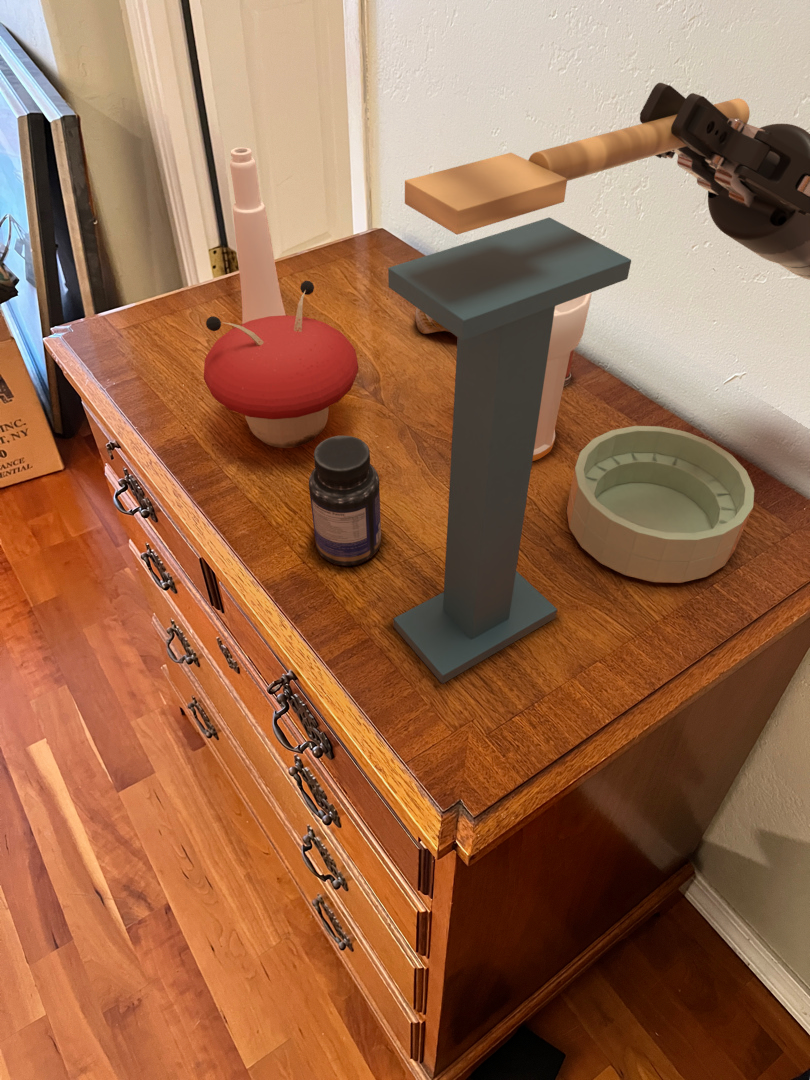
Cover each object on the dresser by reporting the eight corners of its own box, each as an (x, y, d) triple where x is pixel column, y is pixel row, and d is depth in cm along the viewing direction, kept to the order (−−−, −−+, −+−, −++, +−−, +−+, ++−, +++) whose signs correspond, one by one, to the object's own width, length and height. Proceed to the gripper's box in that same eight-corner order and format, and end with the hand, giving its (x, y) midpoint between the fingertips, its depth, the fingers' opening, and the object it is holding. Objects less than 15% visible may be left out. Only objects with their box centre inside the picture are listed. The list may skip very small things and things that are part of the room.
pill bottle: (344, 513, 77) (337, 420, 69) (394, 539, 74) (393, 446, 67) (302, 550, 73) (289, 457, 66) (353, 578, 71) (347, 485, 63)
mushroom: (315, 371, 94) (303, 249, 84) (389, 438, 85) (387, 311, 75) (192, 416, 88) (163, 291, 77) (258, 494, 79) (235, 364, 68)
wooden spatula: (704, 120, 50) (711, 89, 49) (763, 141, 48) (772, 108, 46) (404, 203, 41) (404, 167, 40) (456, 235, 38) (458, 197, 37)
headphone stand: (555, 618, 68) (631, 259, 45) (442, 684, 63) (463, 320, 40) (503, 568, 72) (549, 216, 49) (393, 627, 67) (387, 267, 44)
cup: (561, 477, 81) (589, 323, 68) (451, 463, 82) (459, 310, 70) (567, 413, 88) (594, 264, 76) (467, 401, 90) (477, 253, 78)
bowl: (769, 541, 74) (791, 493, 70) (652, 613, 68) (669, 566, 64) (646, 454, 83) (658, 407, 79) (533, 511, 77) (540, 463, 73)
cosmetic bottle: (253, 351, 97) (224, 164, 82) (235, 328, 101) (204, 146, 86) (298, 337, 100) (278, 154, 84) (278, 316, 103) (256, 136, 88)
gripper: (737, 120, 59) (614, 10, 47) (911, 179, 51) (816, 64, 39) (681, 219, 62) (552, 139, 50) (836, 289, 54) (727, 214, 42)
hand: (668, 107), depth 44 cm, fingers closed on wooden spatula, 2 cm apart
